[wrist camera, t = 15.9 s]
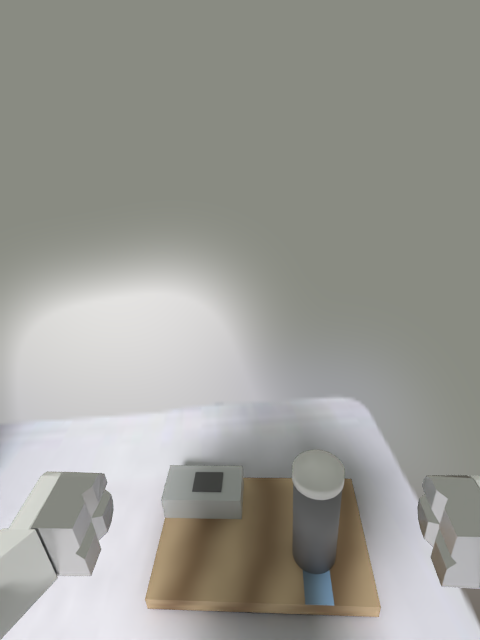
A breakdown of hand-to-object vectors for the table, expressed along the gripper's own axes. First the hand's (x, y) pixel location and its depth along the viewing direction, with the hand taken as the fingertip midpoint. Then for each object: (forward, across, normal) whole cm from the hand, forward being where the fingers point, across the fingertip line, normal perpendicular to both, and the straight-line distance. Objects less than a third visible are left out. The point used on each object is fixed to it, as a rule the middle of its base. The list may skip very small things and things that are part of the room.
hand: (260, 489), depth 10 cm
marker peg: (+16, -4, +28) cm, 33 cm away
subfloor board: (+18, +1, +30) cm, 35 cm away
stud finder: (+22, +7, +28) cm, 36 cm away
